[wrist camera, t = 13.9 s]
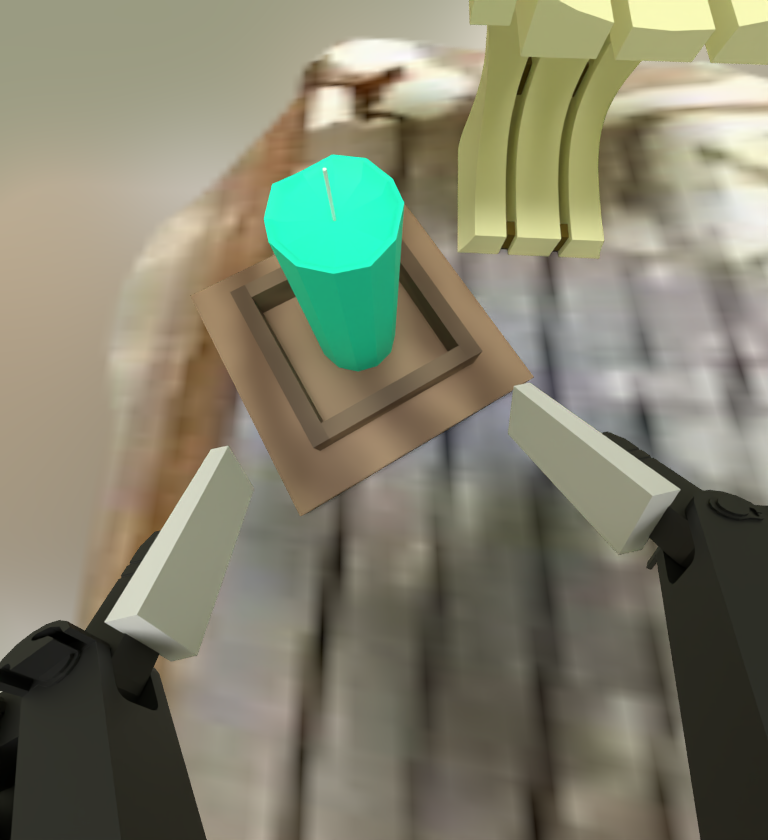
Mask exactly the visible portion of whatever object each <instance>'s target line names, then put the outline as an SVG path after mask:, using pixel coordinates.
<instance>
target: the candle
mask: <svg viewBox="0 0 768 840" xmlns="http://www.w3.org/2000/svg"><path fill="white" fill-rule="evenodd" d="M403 214H404V201H403V199H402V197H401V195H400V193H399V191H398V189H397V187H396V185H395V182H394V180H393V179H392V178H391V177H390V176H389V175H387V174H386V173H385V172H383V171H382V170H381V169H380V168H378V167H377V166H376V165H374V164H373V163H372V162H371V161H369V160H368V159H367V158H360V157H351V156H341V155H330V156H329V157H327V158H325V159H323V160H321V161H319V162H317V163H316V164H314V165H312V166H310V167H308V168H306V169H304V170H302V171H301V172H298V173H296V174H294V175H292V176H289V177H287V178H285V179H283V180H281V181H278V182H276V183H274V184H272V187H271V191H270V196H269V200H268V204H267V208H266V212H265V216H264V222H265V227H266V232H267V236H268V241H269V244H270V246H271V248H272V250H273V252H274V254H275V256H276V258H277V260H278V262H279V264H280V266H281V268H282V270H283V272H284V274H285V276H286V278H287V280H288V282H289V284H290V286H291V288H292V290H293V292H294V294H295V296H296V298H297V300H298V302H299V304H300V306H301V308H302V310H303V312H304V314H305V316H306V318H307V320H308V322H309V324H310V326H311V328H312V330H313V333H314V335H315V337H316V339H317V341H318V343H319V345H320V347H321V349H322V351H323V353H324V355H325V356H326V357H328V358H329V359H330V360H331V361H332V362H333V363H334V364H335V365H337V366H338V367H339V368H344V369H348V370H353V371H358V372H359V371H362V370H365V369H369V368H372V367H375V366H378V365H379V364H380V363H381V362H382V361H383V360H384V359H385V358H386V357H387V356H388V355H389V354H390V353H391V350H392V346H393V342H394V337H395V330H396V316H397V301H398V287H399V272H400V258H401V243H402V229H403Z"/></svg>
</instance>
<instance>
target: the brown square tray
mask: <svg viewBox="0 0 768 840" xmlns="http://www.w3.org/2000/svg"><path fill="white" fill-rule="evenodd" d="M191 298H192V300H193V302H194V304H195V306H196V308H197V310H198V312H199V314H200V316H201V318H202V320H203V322H204V324H205V326H206V328H207V330H208V332H209V334H210V336H211V339H212V341H213V343H214V345H215V347H216V349H217V351H218V353H219V355H220V357H221V359H222V361H223V363H224V365H225V367H226V369H227V371H228V373H229V375H230V377H231V379H232V381H233V383H234V385H235V387H236V389H237V391H238V393H239V395H240V397H241V399H242V401H243V403H244V405H245V407H246V409H247V411H248V413H249V415H250V417H251V419H252V421H253V423H254V425H255V427H256V429H257V431H258V433H259V435H260V437H261V439H262V441H263V443H264V445H265V447H266V449H267V451H268V453H269V455H270V457H271V459H272V461H273V463H274V465H275V467H276V469H277V471H278V473H279V475H280V477H281V479H282V481H283V483H284V485H285V487H286V489H287V491H288V493H289V495H290V497H291V499H292V501H293V503H294V505H295V507H296V509H297V511H298V513H299V515H300V516H302V515H304V514H306V513H308V512H310V511H312V510H313V509H315V508H317V507H319V506H320V505H322V504H324V503H325V502H327V501H329V500H330V499H332V498H334V497H335V496H337V495H339V494H340V493H342V492H344V491H345V490H347V489H349V488H350V487H352V486H354V485H355V484H357V483H359V482H360V481H362V480H364V479H365V478H367V477H369V476H370V475H372V474H374V473H376V472H377V471H379V470H381V469H382V468H384V467H386V466H387V465H389V464H391V463H392V462H394V461H396V460H397V459H399V458H401V457H402V456H404V455H406V454H407V453H409V452H411V451H412V450H414V449H416V448H417V447H419V446H421V445H422V444H424V443H426V442H427V441H429V440H431V439H432V438H434V437H436V436H438V435H439V434H441V433H443V432H444V431H446V430H448V429H449V428H451V427H453V426H454V425H456V424H458V423H459V422H461V421H463V420H464V419H466V418H468V417H469V416H471V415H473V414H474V413H476V412H478V411H479V410H481V409H483V408H484V407H486V406H488V405H489V404H491V403H493V402H494V401H496V400H498V399H500V398H501V397H503V396H505V395H506V394H508V393H510V392H511V391H513V387H514V386H516V385H521V384H524V383H526V382H527V381H529V380H530V379H532V378H533V375H532V374H531V373H530V371H529V370H528V369H527V367H526V366H525V365H524V363H523V362H522V361H521V359H520V358H519V356H518V355H517V354H516V352H515V351H514V350H513V348H512V347H511V346H510V344H509V343H508V342H507V340H506V339H505V338H504V336H503V335H502V334H501V332H500V331H499V330H498V328H497V327H496V325H495V324H494V323H493V321H492V320H491V319H490V317H489V316H488V315H487V313H486V312H485V311H484V309H483V308H482V307H481V305H480V304H479V303H478V301H477V300H476V299H475V297H474V296H473V295H472V293H471V292H470V290H469V289H468V288H467V286H466V285H465V284H464V282H463V281H462V280H461V278H460V277H459V276H458V274H457V273H456V272H455V270H454V269H453V268H452V266H451V265H450V264H449V262H448V261H447V259H446V258H445V257H444V255H443V254H442V253H441V251H440V250H439V249H438V247H437V246H436V245H435V243H434V242H433V241H432V239H431V238H430V237H429V235H428V234H427V233H426V231H425V230H424V228H423V227H422V226H421V224H420V223H419V222H418V220H417V219H416V218H415V216H414V215H413V214H412V212H411V211H410V210H409V208H408V207H407V206H406V204H405V203H404V214H403V229H402V243H401V258H400V272H399V287H398V301H397V316H396V330H395V337H394V342H393V346H392V350H391V353H390V354H389V355H388V356H387V357H386V358H385V359H384V360H383V361H382V362H381V363H380V364H379V365H378V366H375V367H372V368H369V369H365V370H362V371H359V372H358V371H353V370H348V369H344V368H339V367H338V366H337V365H335V364H334V363H333V362H332V361H331V360H330V359H329V358H328V357H326V356H325V355H324V353H323V351H322V349H321V347H320V345H319V343H318V341H317V339H316V337H315V335H314V333H313V330H312V328H311V326H310V324H309V322H308V320H307V318H306V316H305V314H304V312H303V310H302V308H301V306H300V304H299V302H298V300H297V298H296V296H295V294H294V292H293V290H292V288H291V286H290V284H289V282H288V280H287V278H286V276H285V274H284V272H283V270H282V268H281V266H280V264H279V262H278V260H277V258H276V256H275V255H274V256H272V257H269V258H267V259H265V260H263V261H261V262H259V263H257V264H255V265H253V266H251V267H249V268H247V269H245V270H243V271H241V272H238V273H236V274H234V275H232V276H230V277H228V278H226V279H224V280H222V281H220V282H218V283H216V284H214V285H212V286H210V287H207V288H205V289H203V290H201V291H199V292H197V293H195V294H193V295H191Z"/></svg>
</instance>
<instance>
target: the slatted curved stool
mask: <svg viewBox="0 0 768 840" xmlns="http://www.w3.org/2000/svg"><path fill="white" fill-rule="evenodd" d="M469 15H470V25H487V38H486V52H485V60H484V66H483V71H482V76H481V80H480V84H479V88H478V91H477V94H476V98H475V100H474V103H473V106H472V109H471V112H470V114H469V117H468V119H467V122H466V125H465V127H464V130H463V133H462V135H461V139H460V142H459V147H458V252H465V253H487V254H498V253H499V251H500V249H501V248H508V254H509V255H531V256H549V255H550V254H551V252H552V251H558V255H559V257H575V258H597V259H599V257H600V250H601V247H602V245H603V242H604V235H603V227H602V218H601V208H600V197H599V180H598V155H599V143H600V136H601V131H602V127H603V123H604V120H605V116H606V114H607V111H608V109H609V107H610V105H611V102H612V101H613V99H614V97H615V95H616V94H617V92H618V90H619V89H620V87H621V86H622V85H623V83H624V82H625V80H626V79H627V78H628V77H629V75H630V74H631V73H632V72H633V70H634V69H635V68H636V67H637V66H638V65H639V63H640V62H641V61H670V62H692V61H693V59H694V58H695V57H696V55H697V54H698V53H699V51H700V50H701V49H702V47H703V46H704V44H705V46H706V49H707V52H708V55H709V59H710V62H711V63H731V64H734V63H735V64H761V65H768V0H469ZM506 217H507V221H506Z"/></svg>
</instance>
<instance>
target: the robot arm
mask: <svg viewBox="0 0 768 840" xmlns="http://www.w3.org/2000/svg"><path fill="white" fill-rule="evenodd" d="M508 434H509V435H510V437H511V438H512V439H513V440H514V441H515V442H516V443H517V444H518V445H519V446H520V447H521V449H522V450H523V451H524V452H525V453H526V454H527V455H528V456H529V457H530V458H531V459H532V461H533V462H534V463H535V464H536V465H537V466H538V467H539V468H540V469H541V470H542V472H543V473H544V474H545V475H546V476H547V477H548V478H549V479H550V480H551V481H552V482H553V484H554V485H555V486H556V487H557V488H558V489H559V490H560V491H561V492H562V493H563V495H564V496H565V497H566V498H567V499H568V500H569V501H570V502H571V503H572V504H573V505H574V507H575V508H576V509H577V510H578V511H579V512H580V513H581V514H582V515H583V516H584V517H585V519H586V520H587V521H588V522H589V523H590V524H591V525H592V526H593V527H594V528H595V530H596V531H597V532H598V533H599V534H600V535H601V536H602V537H603V538H604V539H605V540H606V542H607V543H608V544H609V545H610V546H611V547H612V548H613V549H614V550H615V551H616V553H617V554H618V555H621V554H625V553H629V552H634V551H638V550H642V549H643V547H644V545H645V544H646V542H647V541H648V539H649V538H650V539H651V540H653V541H654V542H655V543H656V544H657V545H658V546H659V547H658V548H657V549H656V551H655V552H654V554H653V555H652V557H651V558H650V560H649V561H648V563H647V568H648V569H650V570H651V569H652V568H653V567H654V565H655V564H656V563H657V565H658V572H659V578H660V584H661V590H662V597H663V603H664V609H665V616H666V622H667V629H668V635H669V641H670V648H671V654H672V660H673V667H674V673H675V680H676V686H677V692H678V699H679V705H680V712H681V718H682V724H683V731H684V737H685V743H686V750H687V756H688V763H689V769H690V775H691V782H692V788H693V794H694V801H695V807H696V814H697V820H698V826H699V833H700V839H701V840H768V506H759V505H753V504H752V503H751V502H748V501H746V500H744V499H742V498H740V497H738V496H735V495H732V494H729V493H725V492H721V491H713V490H706V491H703V490H701V489H699V488H698V487H696V486H695V485H693V484H692V483H690V482H689V481H687V480H686V479H684V478H683V477H681V476H680V475H678V474H677V473H675V472H674V471H672V470H671V469H669V468H668V467H666V466H665V465H663V464H662V463H660V462H659V461H657V460H656V459H654V458H651V457H650V455H648V454H647V453H645V452H644V451H642V450H639V448H638V447H636V446H635V445H633V444H632V443H630V442H629V441H627V440H626V439H624V438H622V437H619V436H617V435H614V434H612V433H609V432H603V433H600V432H599V431H597V430H596V429H594V428H593V427H592V426H590V425H589V424H587V423H586V422H585V421H583V420H582V419H580V418H579V417H577V416H576V415H575V414H573V413H572V412H570V411H569V410H568V409H566V408H565V407H563V406H562V405H560V404H559V403H558V402H556V401H555V400H553V399H552V398H551V397H549V396H548V395H546V394H545V393H544V392H542V391H541V390H539V389H538V388H536V387H535V386H534V385H532V384H531V383H526V384H521V385H516V386H514V387H513V396H512V404H511V412H510V420H509V429H508ZM253 490H254V488H253V486H252V484H251V483H250V481H249V479H248V478H247V476H246V474H245V473H244V471H243V469H242V468H241V466H240V464H239V463H238V461H237V459H236V458H235V456H234V454H233V453H232V451H231V449H230V448H229V446H225V447H221V448H216V449H211V450H210V452H209V454H208V455H207V457H206V458H205V460H204V462H203V463H202V465H201V467H200V468H199V470H198V471H197V473H196V475H195V476H194V478H193V479H192V481H191V483H190V484H189V486H188V488H187V489H186V491H185V492H184V494H183V496H182V497H181V499H180V501H179V502H178V504H177V505H176V507H175V509H174V510H173V512H172V513H171V515H170V517H169V518H168V520H167V522H166V523H165V525H164V526H163V528H162V530H161V531H156V532H154V533H153V534H152V535H151V536H150V537H149V538H148V539H147V540H146V541H145V542H144V543H143V544H142V545H141V546H140V547H139V549H138V550H137V552H136V553H135V555H134V556H133V558H132V560H131V561H130V565H128V566H127V567H126V569H125V570H124V572H123V573H122V575H121V579H118V581H117V582H116V584H115V585H114V587H113V589H112V590H111V592H110V593H109V595H108V596H107V598H106V599H105V601H104V602H103V604H102V605H101V607H100V608H99V610H98V611H97V613H96V615H95V616H94V618H93V619H92V621H91V622H90V624H89V625H88V627H87V628H86V630H85V631H84V630H82V629H81V628H79V627H77V626H75V625H73V624H71V623H69V622H67V621H61V620H58V621H55V622H52V623H49V624H46V625H45V626H43V627H41V628H40V629H38V630H36V631H34V632H32V633H31V634H30V635H29V636H27V637H26V638H25V639H23V640H22V641H21V642H20V643H19V644H17V645H16V646H15V647H14V648H13V649H12V650H11V651H10V652H9V653H8V654H7V655H6V656H5V657H4V658H3V659H2V661H1V662H0V691H3V692H1V693H0V840H207V839H206V836H205V832H204V829H203V825H202V822H201V818H200V815H199V811H198V808H197V804H196V801H195V797H194V794H193V790H192V787H191V783H190V780H189V776H188V773H187V769H186V766H185V762H184V759H183V755H182V752H181V748H180V745H179V741H178V738H177V734H176V731H175V727H174V724H173V720H172V717H171V713H170V710H169V706H168V703H167V699H166V696H165V692H164V689H163V685H162V682H161V678H160V675H159V673H158V671H157V670H156V669H155V668H153V667H154V665H155V663H156V660H157V658H158V656H159V655H161V656H163V657H164V658H166V659H168V660H169V661H176V660H180V659H184V658H188V657H192V656H197V655H198V652H199V649H200V646H201V643H202V640H203V637H204V634H205V631H206V628H207V626H208V623H209V620H210V617H211V614H212V611H213V608H214V605H215V602H216V599H217V596H218V593H219V590H220V587H221V584H222V581H223V579H224V576H225V573H226V570H227V567H228V564H229V561H230V558H231V555H232V552H233V549H234V546H235V543H236V540H237V537H238V534H239V532H240V529H241V526H242V523H243V520H244V517H245V514H246V511H247V508H248V505H249V502H250V499H251V496H252V493H253Z"/></svg>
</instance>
